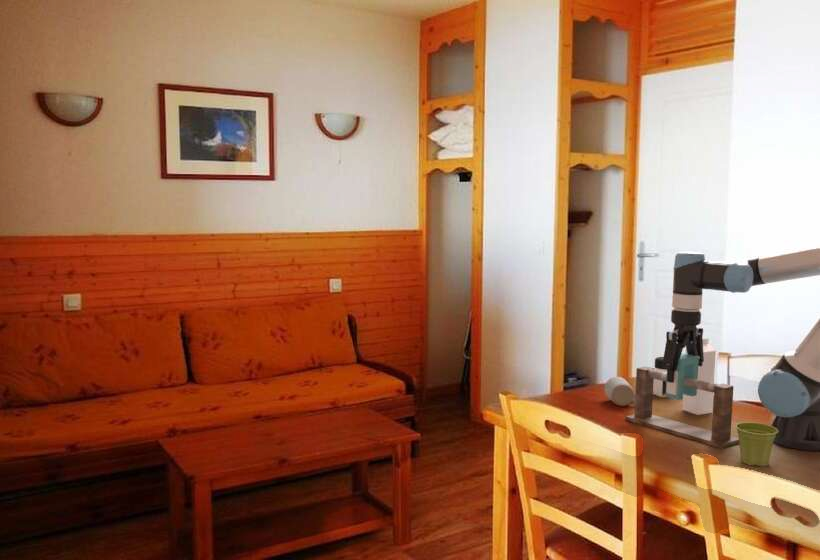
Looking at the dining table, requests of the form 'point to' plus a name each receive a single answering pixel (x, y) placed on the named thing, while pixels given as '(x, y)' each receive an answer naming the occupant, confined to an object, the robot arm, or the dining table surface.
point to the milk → (705, 373)
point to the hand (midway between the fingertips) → (681, 391)
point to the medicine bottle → (659, 385)
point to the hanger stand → (644, 416)
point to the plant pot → (755, 442)
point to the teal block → (685, 375)
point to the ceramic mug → (619, 391)
